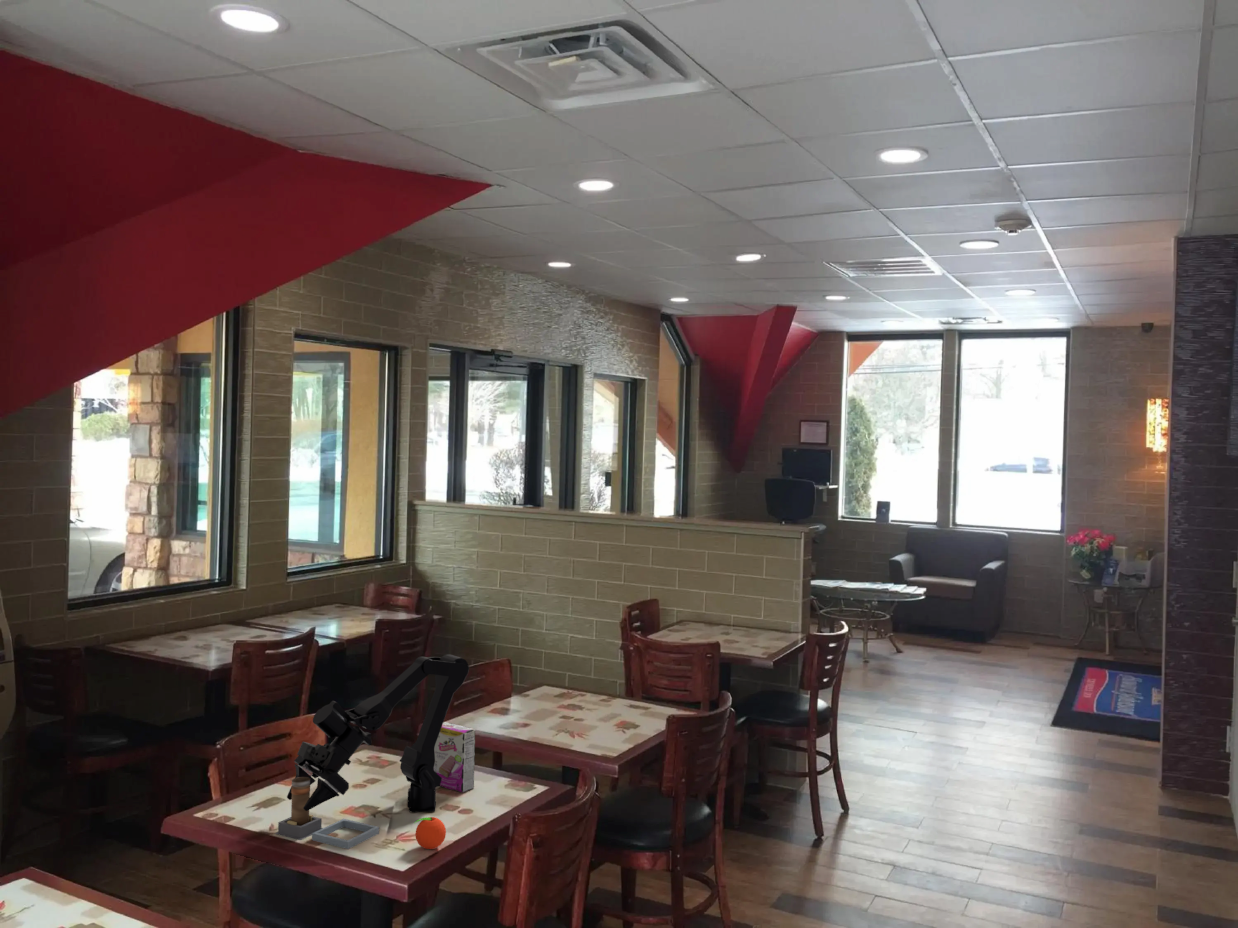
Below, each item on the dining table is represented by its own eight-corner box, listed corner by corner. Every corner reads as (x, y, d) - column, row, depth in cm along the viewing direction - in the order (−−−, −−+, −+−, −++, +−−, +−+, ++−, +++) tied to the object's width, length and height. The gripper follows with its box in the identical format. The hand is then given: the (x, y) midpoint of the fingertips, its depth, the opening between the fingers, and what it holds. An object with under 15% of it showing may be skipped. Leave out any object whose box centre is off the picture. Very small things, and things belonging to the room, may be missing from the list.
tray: (343, 830, 240) (343, 818, 240) (378, 839, 235) (379, 826, 235) (311, 846, 230) (312, 833, 230) (348, 855, 226) (348, 841, 226)
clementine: (407, 853, 228) (408, 822, 228) (413, 841, 235) (414, 811, 235) (442, 854, 228) (443, 823, 228) (448, 842, 235) (448, 812, 235)
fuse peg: (310, 827, 238) (311, 776, 238) (307, 833, 234) (308, 782, 234) (292, 827, 237) (293, 776, 237) (288, 834, 233) (289, 782, 233)
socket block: (299, 828, 241) (299, 809, 241) (324, 834, 237) (325, 815, 237) (274, 839, 234) (274, 820, 234) (300, 846, 230) (300, 826, 230)
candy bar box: (431, 785, 274) (432, 724, 274) (443, 780, 279) (445, 721, 278) (462, 793, 268) (464, 732, 268) (474, 788, 273) (476, 727, 272)
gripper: (303, 720, 245) (257, 773, 238) (337, 737, 231) (289, 795, 224) (332, 747, 250) (288, 800, 243) (368, 765, 236) (322, 823, 229)
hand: (296, 804), depth 235 cm, fingers open, 9 cm apart
